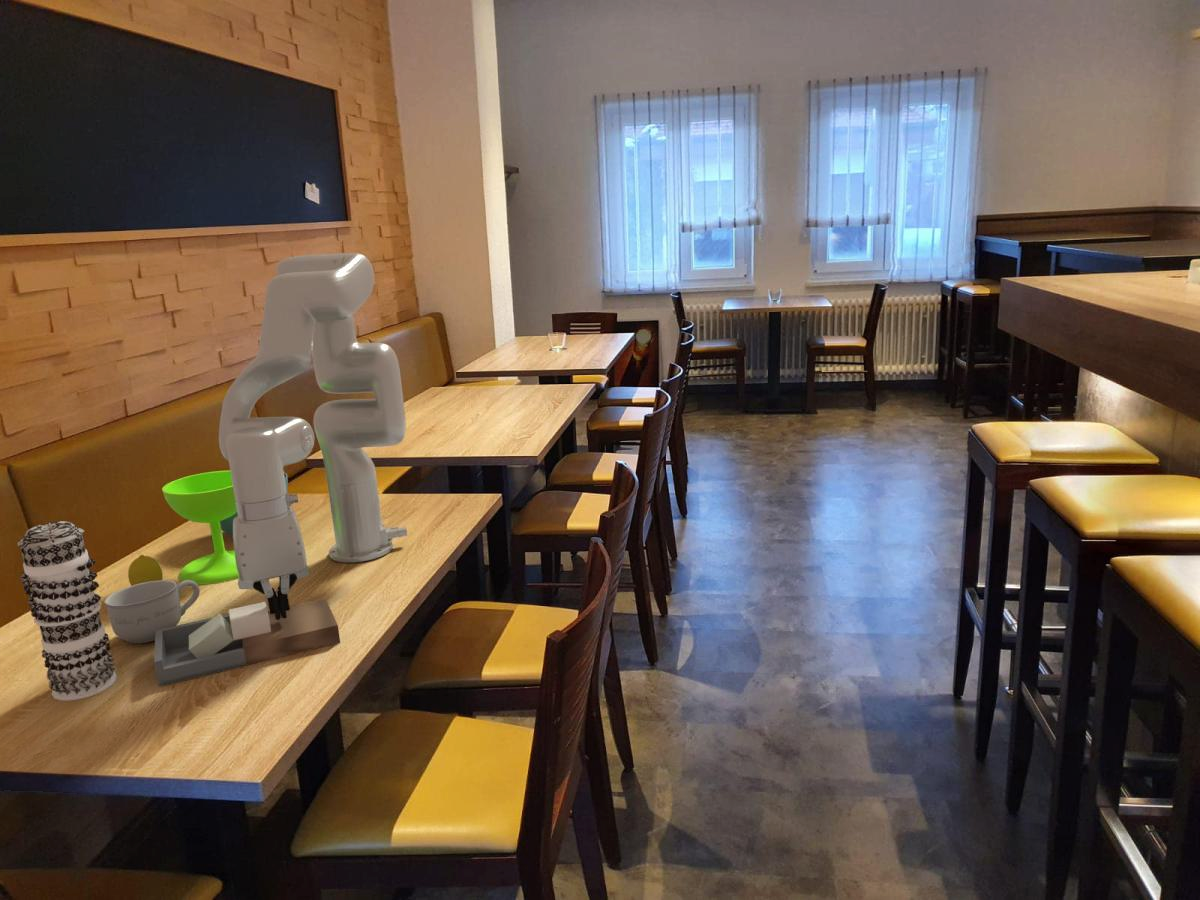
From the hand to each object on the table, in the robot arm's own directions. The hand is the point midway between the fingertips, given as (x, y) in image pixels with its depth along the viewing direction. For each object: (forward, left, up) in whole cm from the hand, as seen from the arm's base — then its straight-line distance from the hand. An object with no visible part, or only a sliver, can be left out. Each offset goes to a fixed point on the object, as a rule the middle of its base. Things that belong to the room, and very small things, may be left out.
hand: (280, 615), depth 138 cm
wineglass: (+7, -41, -4) cm, 41 cm away
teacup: (+18, -15, -4) cm, 24 cm away
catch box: (+12, 0, -4) cm, 13 cm away
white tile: (+5, 0, -1) cm, 5 cm away
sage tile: (+10, 0, -2) cm, 10 cm away
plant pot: (0, -60, -4) cm, 60 cm away
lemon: (+20, -34, -4) cm, 40 cm away
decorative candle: (+28, -1, -4) cm, 29 cm away
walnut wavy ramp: (-1, 0, -4) cm, 4 cm away
